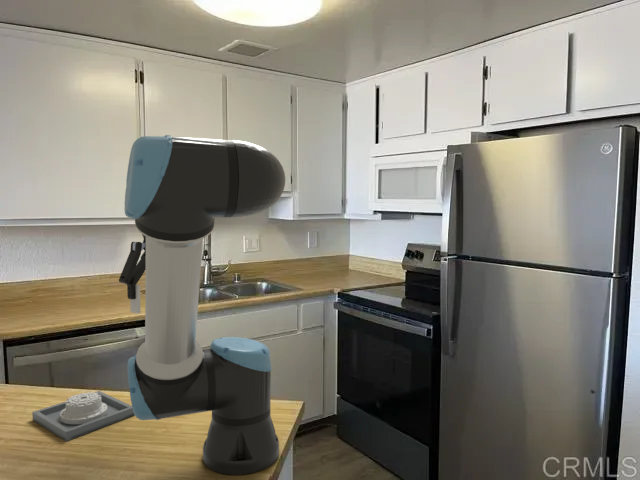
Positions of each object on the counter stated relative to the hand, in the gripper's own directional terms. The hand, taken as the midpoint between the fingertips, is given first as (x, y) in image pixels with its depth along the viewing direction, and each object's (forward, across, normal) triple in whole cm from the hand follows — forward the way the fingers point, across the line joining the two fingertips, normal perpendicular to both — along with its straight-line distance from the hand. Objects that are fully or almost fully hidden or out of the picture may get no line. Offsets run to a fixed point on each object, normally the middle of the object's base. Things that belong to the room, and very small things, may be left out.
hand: (159, 308), depth 118 cm
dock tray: (+25, +14, -10) cm, 30 cm away
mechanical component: (+24, +14, -10) cm, 30 cm away
